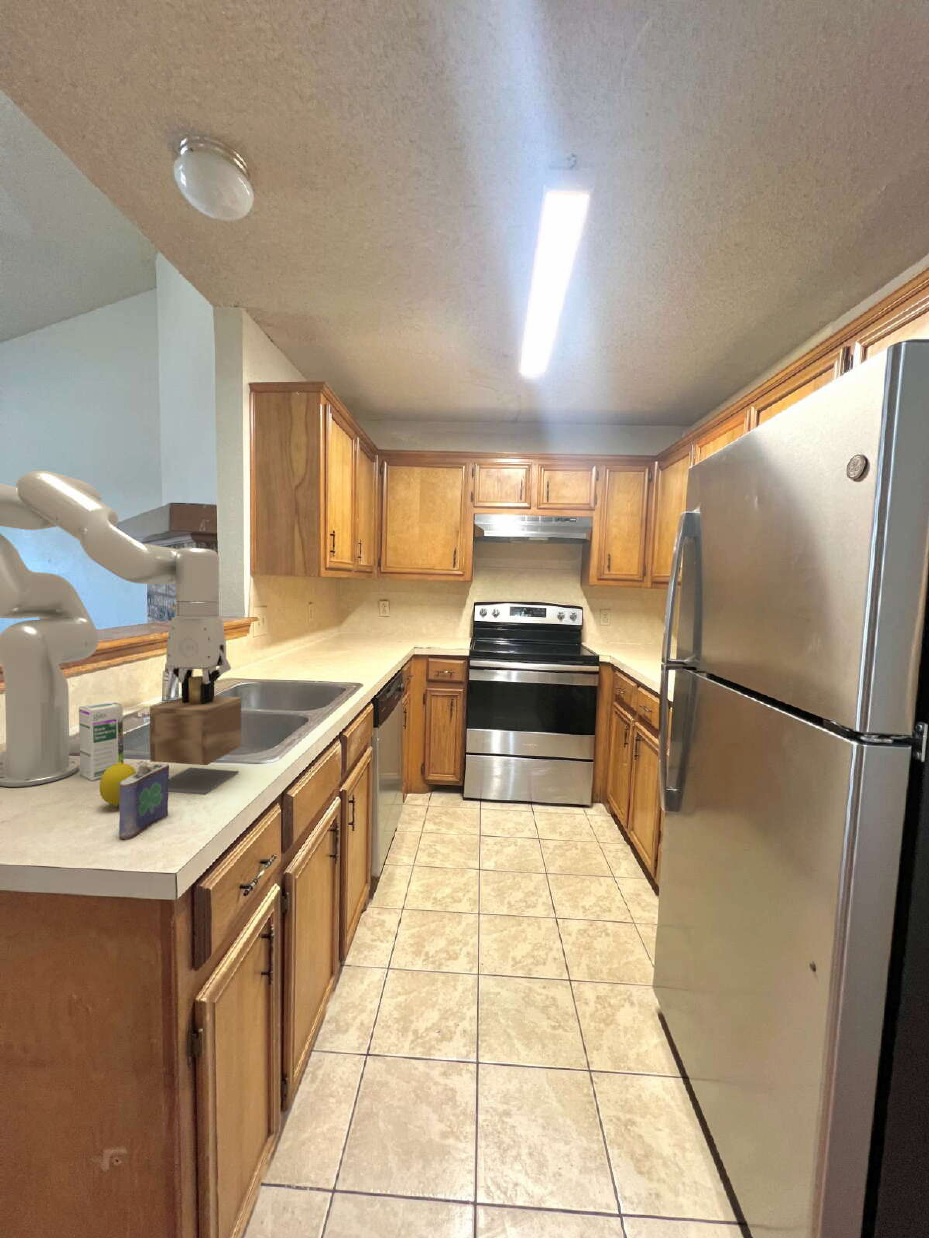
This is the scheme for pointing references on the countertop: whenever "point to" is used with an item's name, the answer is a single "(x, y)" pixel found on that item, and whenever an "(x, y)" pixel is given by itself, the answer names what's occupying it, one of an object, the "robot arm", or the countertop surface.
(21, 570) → the robot arm
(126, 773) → the lemon
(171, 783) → the mat
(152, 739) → the brown block with knob
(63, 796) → the countertop surface
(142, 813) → the flask
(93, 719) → the syrup box
